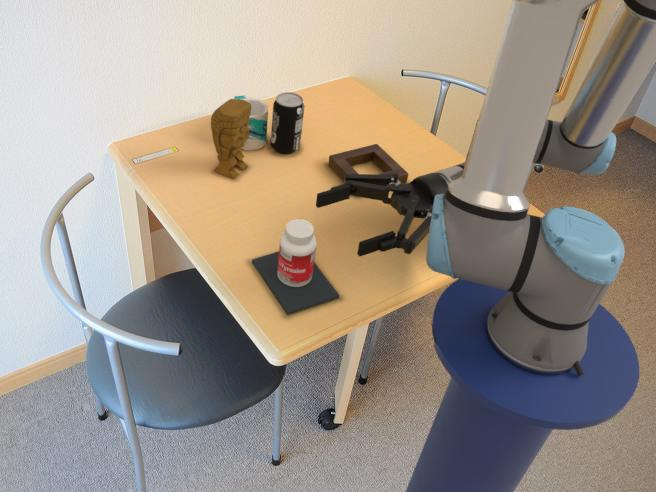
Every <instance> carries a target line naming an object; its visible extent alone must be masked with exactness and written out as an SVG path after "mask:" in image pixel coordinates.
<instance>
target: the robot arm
mask: <svg viewBox="0 0 656 492" xmlns="http://www.w3.org/2000/svg"><path fill="white" fill-rule="evenodd" d="M601 1H602V0H511V2H512V3H511V6H510V10H509V12H508V16H507V20H506V23H505V26H504V30H503V34H502V37H501V40H500V43H499V47H498V51H497V54H496V58H495V61H494V65H493V68H492V70H491V75H490V78H489V81H488V85H487V89H486V91H485V94H484V95H485V96H484V100H483V102H482V106H481V109H480V112H479V116H478V119H477V120H476V123H475V128H474V130H473V133H472V137H471V140H470V144H469V148H468V151H467V154H466V157H465V160H464V162H462V163H459V164H455V165H452V166H449V167H446V168H442V169H438V170H436V171H433V172H429V173H426V174H423V175H419V176H417V177H415V178H413V180H410V182H406V183H401V182H400V181H399V180H398V177H399V175H398V174H397V173H392V174H387V175H377V174H374V173H373V174H372V173H371V174H370V173H358V174H345V178H344V182H343V183H342V184H339V185H335V186H332V187H331V188H330V189H328V190H324V191H321V192H317V193H316V200H315V207H316V208H317V209H319V208H323V207H327V206H330V205H333V204H336V203H340V202H343V201H346V200H350V196H352V197H357V196H358V197H359V198H363V199H370V200H374V201H380V202H382V203H383V204H385V205H389V206H390V207H391V208H392V209H394V210H395V211H396V212H397V214H399V216H403V220H402V222H401V224H400V226H399V229H398V230H397V233H396V232H395V231H394V230H391V231H388V232H385V233H382V234H379V235H375V236H373V237H370V238H366V239H364V240H361V241H358V247H357V252H356V254H357V256H358V257H363V256H366V255H369V254H372V253H375V252H378V251H379V252H380V253H384V252H387V251H390V250H393V249H402V250H403V252H404V254H406V255H410V254H412V253H413V252H414V250H415V249H416V248H417V247H418V246H419V245H420V244H421V243H422V241H423V240H424V239H425V238H426V237H427V236H428V238H427V246H426V255H425V256H426V257H425V262H426V265H427V267H428V268H429V269H430V270H431V271H433V272H435V273H438V274H441V275H445V276H448V277H451V279H454V280H458V279H461V280H465V281H470V282H474V283H478V284H482V285H486V286H490V287H494V288H498V289H502V290H506V291H510V292H509V293H508V294H506V295H505V296H504V297H503V298H502V299H501V300H500V301H499V302H498V303H497V304H496V305H495V306H494V307H493V308H492V310H491V311H490V313H489V316H488V318H487V321H486V327H485V328H486V335H487V338H488V340H489V342H490V344H491V345H492V347H493V348H494V350H495V351H496V352H497V353H498V354H499V355H500V356H501V357H502V358H503V359H505V360H506V361H507V362H509V363H510V364H512V365H514V366H516V367H518V368H520V369H522V370H524V371H527V372H530V373H534V374H539V375H547V376H553V375H561V374H565V373H567V372H569V371H571V370H573V369H574V368H575V370H576V372H577V374H578V376H581V375H583V374H584V372H583V370H582V368H581V366H580V364H579V363H580V361H581V360H582V358H583V356H584V355H585V352H586V348H587V335H588V324H589V320H590V318H591V317H592V315H593V313H594V312H595V310H596V308H597V307H598V305H599V304H601V302H602V300H603V297H604V296H605V294H606V293H607V291H608V289H609V288H610V286H611V285H612V283H613V282H614V281H615V280H616V279H617V277H618V274H619V271H620V268H621V266H622V263H623V262H624V259H625V253H626V252H625V250H626V249H625V245H624V242H623V239H622V238H621V236H620V234H619V233H618V232H617V230H615V228H613V227H612V226H611V225H610V224H609V223H608V222H607V221H606V220H604V219H603V218H602V217H600V216H599V215H596V214H595V213H593V212H591V211H588V210H586V209H583V208H581V207H577V206H570V205H569V206H568V205H563V206H560V207H554V208H551V209H550V210H548V211H547V212H546V213H545V214H544V215H543V216H537V215H532V214H529V213H528V212H529V210H530V207H531V206H530V205H531V203H530V200H529V199H528V196H526V194H525V192H524V189H525V186H526V182H527V180H528V176H529V173H530V171H531V168H532V165H533V164H537V165H541V166H546V167H550V168H555V169H559V170H563V171H568V172H572V173H575V174H585V175H591V176H600V175H602V174H604V173H605V172H606V170H607V169H608V168H609V166H610V163H611V161H612V159H613V157H614V155H615V151H616V146H617V137H616V134H615V133H614V132H613V130H614V128H615V127H616V125H617V123H618V122H619V120H620V119H621V117H622V116H623V114H624V113H625V111H626V109H627V108H628V106H629V105H630V103H631V101H632V100H633V98H634V97H635V95H636V94H637V92H638V91H639V89H640V87H641V86H642V84H643V83H644V81H645V79H646V78H647V76H648V75H649V73H650V71H651V70H652V68H653V67H654V65H655V63H656V0H621V1H620V4H619V6H618V8H617V11H616V13H615V14H614V17H613V19H612V21H611V22H610V24H609V26H608V28H607V30H606V32H605V34H604V36H603V39H602V40H601V42H600V44H599V46H598V48H597V50H596V52H595V54H594V56H593V58H592V60H591V62H590V64H589V66H588V67H587V70H586V72H585V74H584V75H583V77H582V80H581V81H580V83H579V85H578V87H577V88H576V89H577V90H576V91H575V93H574V95H573V97H572V99H571V101H570V103H569V105H568V107H567V109H566V111H565V113H564V114H563V117H562V119H561V121H557V120H553V119H548V117H549V114H550V112H551V108H552V106H553V103H554V99H555V96H556V93H557V90H558V88H559V85H560V82H561V79H562V75H563V73H564V70H565V67H566V64H567V61H568V58H569V55H570V52H571V49H572V46H573V43H574V40H575V37H576V34H577V31H578V28H579V25H580V23H581V19H582V17H583V14H584V13H585V11H587V10H589V9H590V8H592V7H593V6H594V5H596V4H598V3H599V2H601ZM353 189H354V190H353ZM390 192H392V193H391V194H390ZM390 195H391V196H390ZM389 196H390V197H389ZM414 219H421V220H423V219H424V220H423V221H422V222H421V223H420V224H419V226H418V227H417V228H416V229H415V230H414V231H413V232H412V233H411V234H410V235H409V236H408V238H407V235H408V233H409V230H410V228H411V226H412V224H413V221H414Z"/></svg>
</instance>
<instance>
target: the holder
mask: <svg viewBox="0 0 656 492" xmlns="http://www.w3.org/2000/svg"><path fill="white" fill-rule="evenodd" d="M370 162H373V163H374V164H375V165H376V167H378V169H380V170H381V171H382V172H380V173H377V174H376V175H387V174H392V173H397V174H398V175H399V177H398V180H399V181H400V182H401V183H408V182H407V181H408V178H409V172H408V171H406V170H405V168H404V167H403V166H401V165H400V164H399V162H397V161H396V160H395V159H394V158H392V156H391V155H390V154H388V153H387V152H386V151H385V150H384V149H383V148H382V147H381V146H380V145H379V144H378V143H374V144H370V145H366V146H362V147H358V148H354V149H351V150H347V151H342V152H338V153H333V154H330V155H329V156H328V163H327V165H328V167H329V168H330V169H331V170H332V172H334V173H335V174H336V176H337V177H339V178H340V180H341V181H342V182H343V183H344V178H345V174H359V172H358V171H357V170H356V169H355V168H354V166H358V165H361V164H366V163H370ZM353 190H354V189H353ZM356 197H358V196H356Z"/></svg>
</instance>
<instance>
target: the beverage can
mask: <svg viewBox="0 0 656 492" xmlns="http://www.w3.org/2000/svg"><path fill="white" fill-rule="evenodd" d="M305 107H306V106H305V103H304V98H303V97H302V96H301V95H300V94H299V93H296V92H291V91H285V92H281V93H279V94H277V95H276V97H275V100H274V102H273V105H272V117H271V130H270V147H271V148H272V149H273V151H274V152H275V153H277V154H281V155H292V154H294V153H296V152H297V151H298V150H300V148H301V144H302V143H301V141H302V134H303V125H304V116H305V115H304V114H305Z"/></svg>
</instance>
